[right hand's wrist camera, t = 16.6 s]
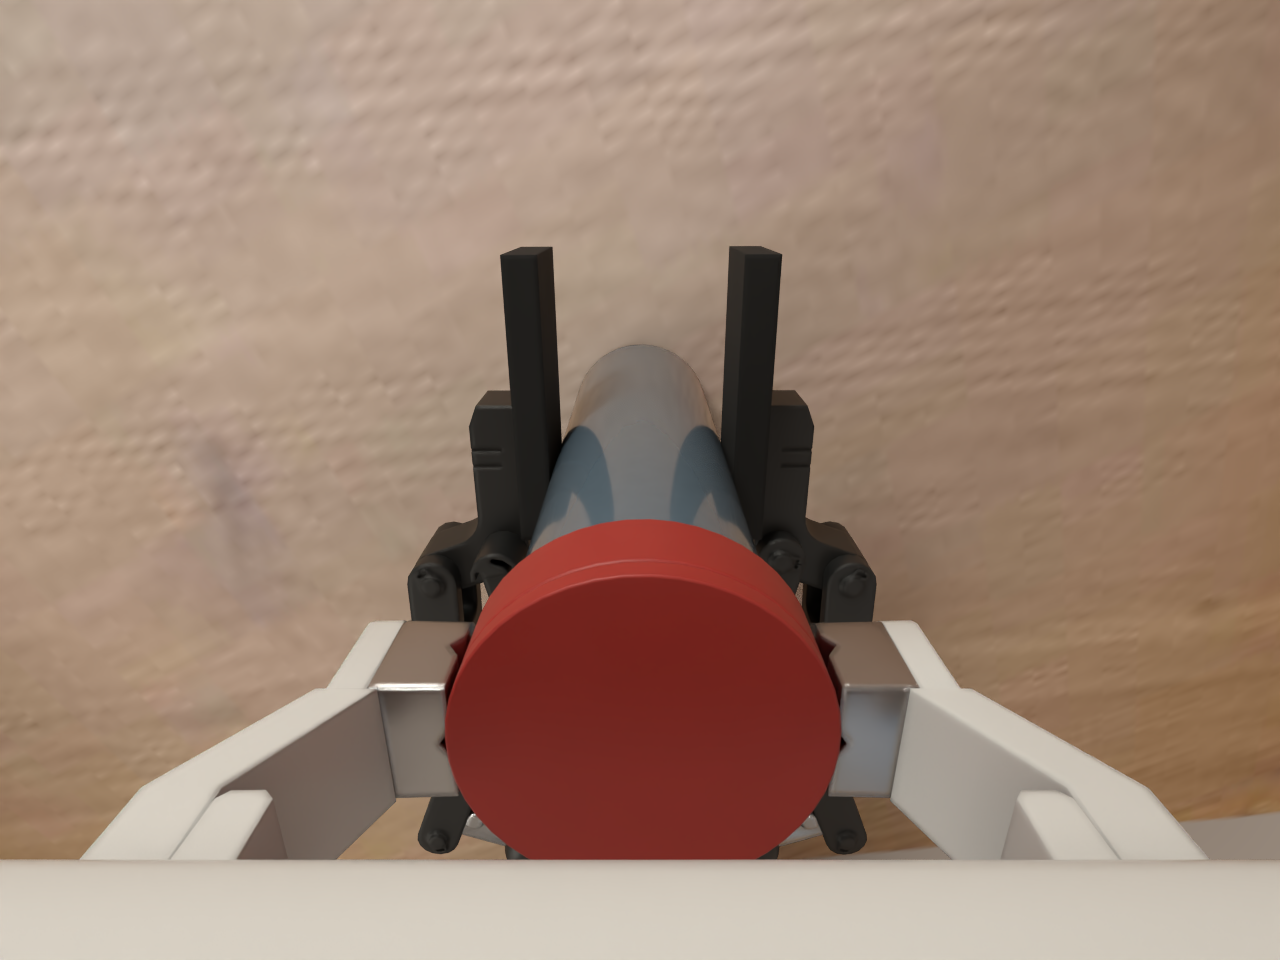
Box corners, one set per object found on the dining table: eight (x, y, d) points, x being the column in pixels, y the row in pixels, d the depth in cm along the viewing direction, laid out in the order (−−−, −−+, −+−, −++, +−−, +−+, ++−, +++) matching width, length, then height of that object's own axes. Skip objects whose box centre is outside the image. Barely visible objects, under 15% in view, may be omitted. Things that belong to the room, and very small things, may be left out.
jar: (557, 437, 23) (435, 782, 10) (609, 322, 22) (556, 530, 8) (669, 486, 24) (711, 877, 10) (727, 378, 23) (867, 660, 9)
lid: (426, 737, 11) (392, 820, 9) (548, 459, 9) (530, 508, 8) (716, 837, 11) (727, 928, 10) (879, 599, 10) (920, 668, 8)
